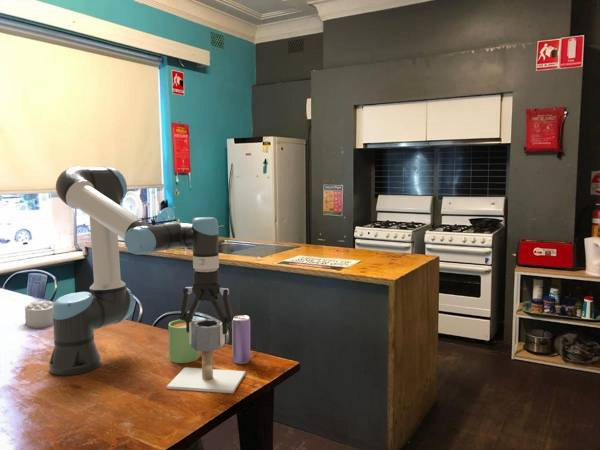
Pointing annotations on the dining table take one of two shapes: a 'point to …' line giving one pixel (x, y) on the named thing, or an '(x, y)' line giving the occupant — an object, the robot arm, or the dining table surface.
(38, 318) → the lumpy-topped squat cylinder
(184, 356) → the mug
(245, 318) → the beverage can
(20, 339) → the dining table surface
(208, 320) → the ring
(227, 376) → the base board
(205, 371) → the post
